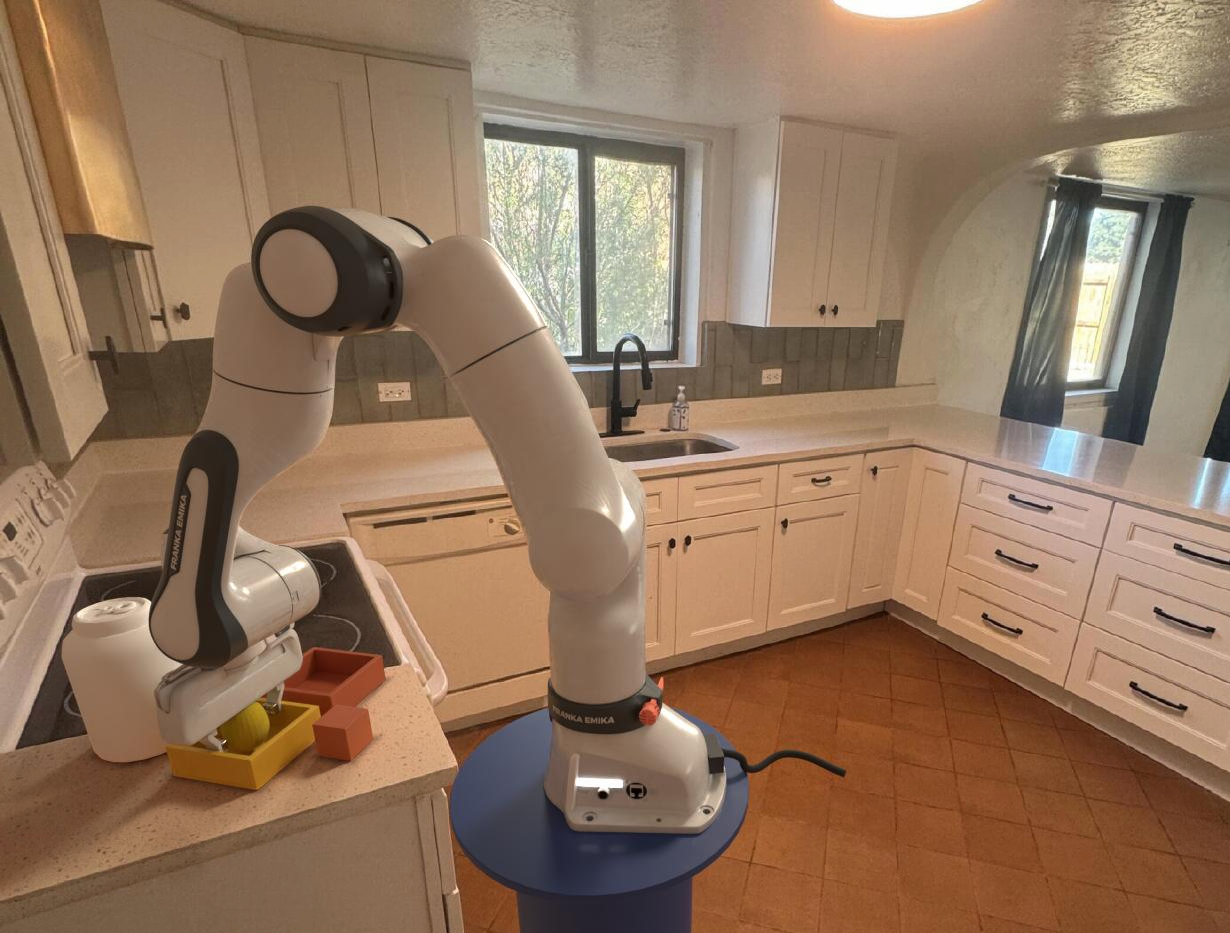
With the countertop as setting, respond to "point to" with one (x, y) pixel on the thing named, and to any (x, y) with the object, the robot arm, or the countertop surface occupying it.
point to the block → (343, 732)
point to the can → (117, 678)
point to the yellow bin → (244, 767)
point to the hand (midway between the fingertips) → (248, 733)
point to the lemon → (246, 728)
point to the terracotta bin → (334, 678)
